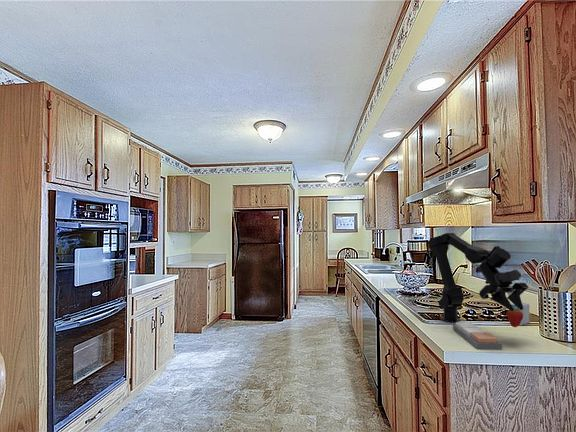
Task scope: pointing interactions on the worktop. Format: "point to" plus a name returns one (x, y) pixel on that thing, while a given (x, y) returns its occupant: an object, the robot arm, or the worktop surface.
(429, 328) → the worktop surface
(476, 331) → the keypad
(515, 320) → the fruit
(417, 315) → the worktop surface
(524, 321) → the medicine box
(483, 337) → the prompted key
